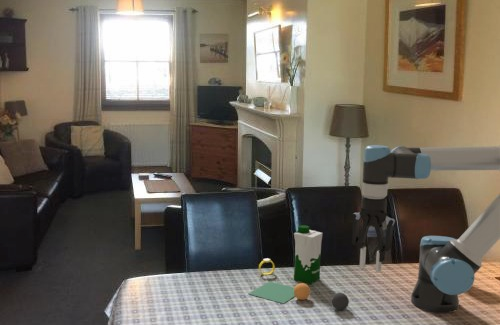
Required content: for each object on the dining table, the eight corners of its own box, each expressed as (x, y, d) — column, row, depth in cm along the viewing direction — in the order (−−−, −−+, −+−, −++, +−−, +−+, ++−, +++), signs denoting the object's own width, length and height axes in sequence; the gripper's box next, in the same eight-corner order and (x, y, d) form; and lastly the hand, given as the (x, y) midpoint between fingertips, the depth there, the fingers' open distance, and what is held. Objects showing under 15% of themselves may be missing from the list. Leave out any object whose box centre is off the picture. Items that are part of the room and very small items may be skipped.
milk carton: (302, 273, 214) (304, 222, 211) (323, 279, 209) (325, 227, 206) (290, 280, 207) (291, 227, 204) (311, 286, 202) (313, 232, 199)
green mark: (303, 290, 198) (303, 290, 198) (283, 303, 186) (283, 303, 186) (269, 281, 205) (269, 281, 205) (248, 294, 194) (248, 293, 194)
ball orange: (312, 298, 191) (313, 283, 190) (305, 303, 187) (305, 288, 186) (298, 294, 194) (298, 279, 193) (290, 299, 190) (291, 284, 189)
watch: (260, 277, 211) (259, 261, 210) (258, 274, 213) (257, 259, 212) (275, 274, 212) (275, 259, 211) (273, 272, 215) (272, 257, 214)
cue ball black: (351, 308, 183) (351, 292, 183) (344, 314, 179) (344, 298, 178) (335, 304, 186) (336, 288, 186) (328, 310, 182) (329, 294, 181)
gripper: (406, 198, 170) (401, 272, 173) (352, 190, 179) (348, 260, 183) (398, 202, 163) (393, 279, 167) (342, 194, 173) (339, 267, 177)
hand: (370, 269), depth 175 cm, fingers open, 4 cm apart
